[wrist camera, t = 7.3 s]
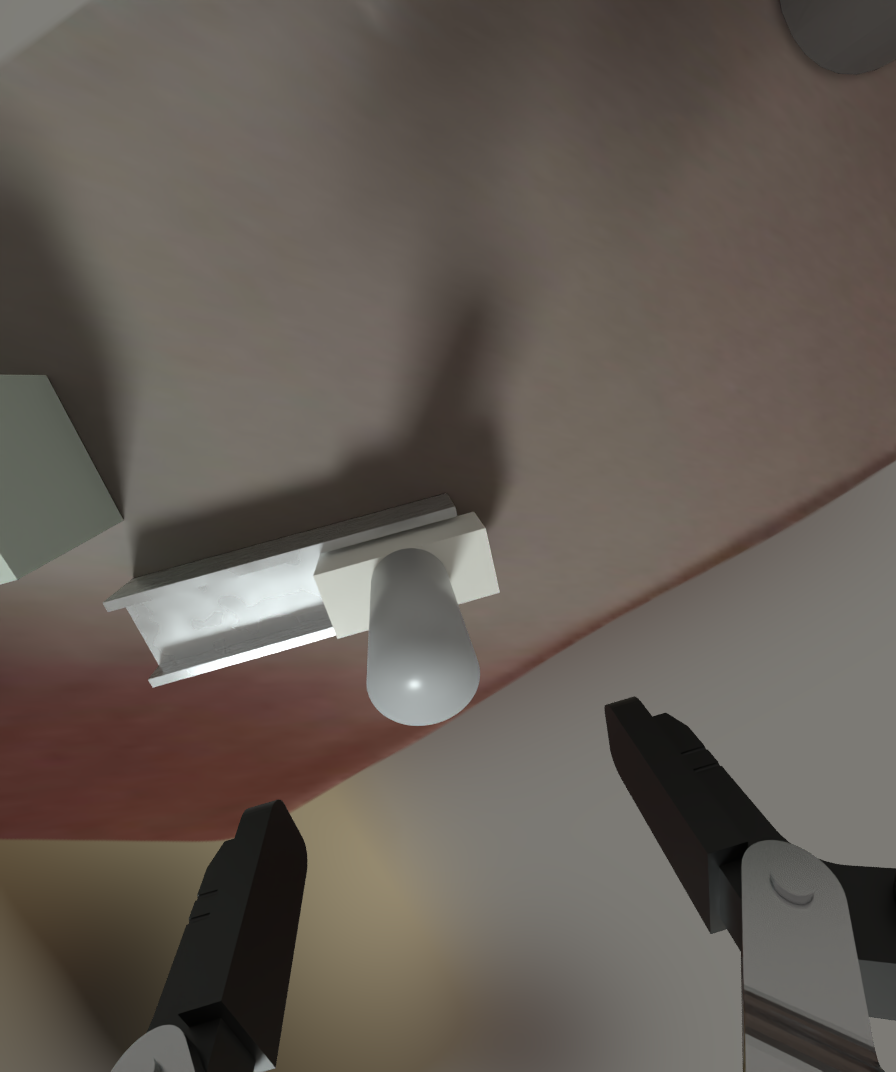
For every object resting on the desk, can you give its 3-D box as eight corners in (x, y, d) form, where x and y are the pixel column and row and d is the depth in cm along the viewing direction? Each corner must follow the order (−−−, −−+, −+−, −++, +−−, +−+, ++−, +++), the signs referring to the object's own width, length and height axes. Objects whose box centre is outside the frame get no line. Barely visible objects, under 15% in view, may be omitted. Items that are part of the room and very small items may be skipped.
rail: (447, 493, 24) (455, 506, 22) (467, 574, 26) (476, 595, 23) (132, 578, 23) (102, 602, 21) (175, 656, 25) (152, 687, 23)
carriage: (473, 509, 23) (535, 596, 14) (487, 571, 24) (552, 688, 15) (319, 551, 22) (279, 670, 13) (342, 612, 24) (319, 758, 15)
